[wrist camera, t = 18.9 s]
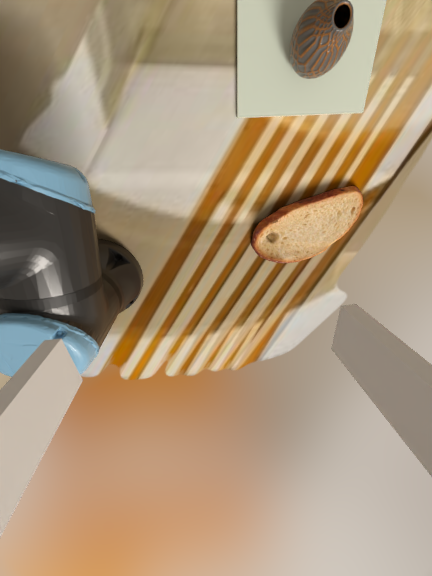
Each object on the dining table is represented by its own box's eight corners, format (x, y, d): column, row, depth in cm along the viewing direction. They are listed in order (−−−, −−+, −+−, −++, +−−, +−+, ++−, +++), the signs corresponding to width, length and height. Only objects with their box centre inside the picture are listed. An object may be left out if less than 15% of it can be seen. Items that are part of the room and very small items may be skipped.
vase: (326, 85, 33) (365, 58, 26) (280, 86, 33) (306, 60, 25) (335, 18, 30) (383, -35, 22) (285, 19, 30) (316, -35, 22)
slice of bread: (368, 192, 42) (382, 194, 39) (317, 275, 49) (326, 283, 46) (285, 154, 38) (293, 152, 35) (243, 250, 46) (247, 257, 42)
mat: (236, 118, 35) (237, 117, 34) (236, -18, 28) (237, -22, 28) (360, 113, 36) (363, 112, 35) (387, -20, 29) (391, -24, 29)
